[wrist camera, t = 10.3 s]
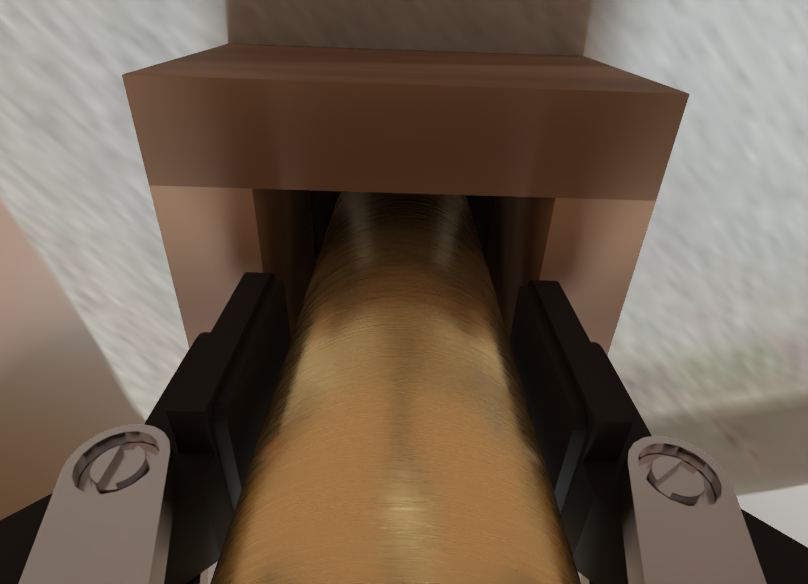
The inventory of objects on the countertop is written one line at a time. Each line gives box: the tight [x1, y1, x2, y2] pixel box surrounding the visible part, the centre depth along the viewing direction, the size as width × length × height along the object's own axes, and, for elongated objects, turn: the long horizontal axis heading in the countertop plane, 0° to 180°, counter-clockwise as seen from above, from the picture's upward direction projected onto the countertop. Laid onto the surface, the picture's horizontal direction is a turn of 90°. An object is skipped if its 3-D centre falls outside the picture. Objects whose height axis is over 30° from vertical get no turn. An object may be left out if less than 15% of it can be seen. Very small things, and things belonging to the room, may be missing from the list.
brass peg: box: [211, 191, 581, 584], centre depth 10 cm, size 4×4×14 cm
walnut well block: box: [122, 44, 689, 355], centre depth 14 cm, size 10×10×6 cm
